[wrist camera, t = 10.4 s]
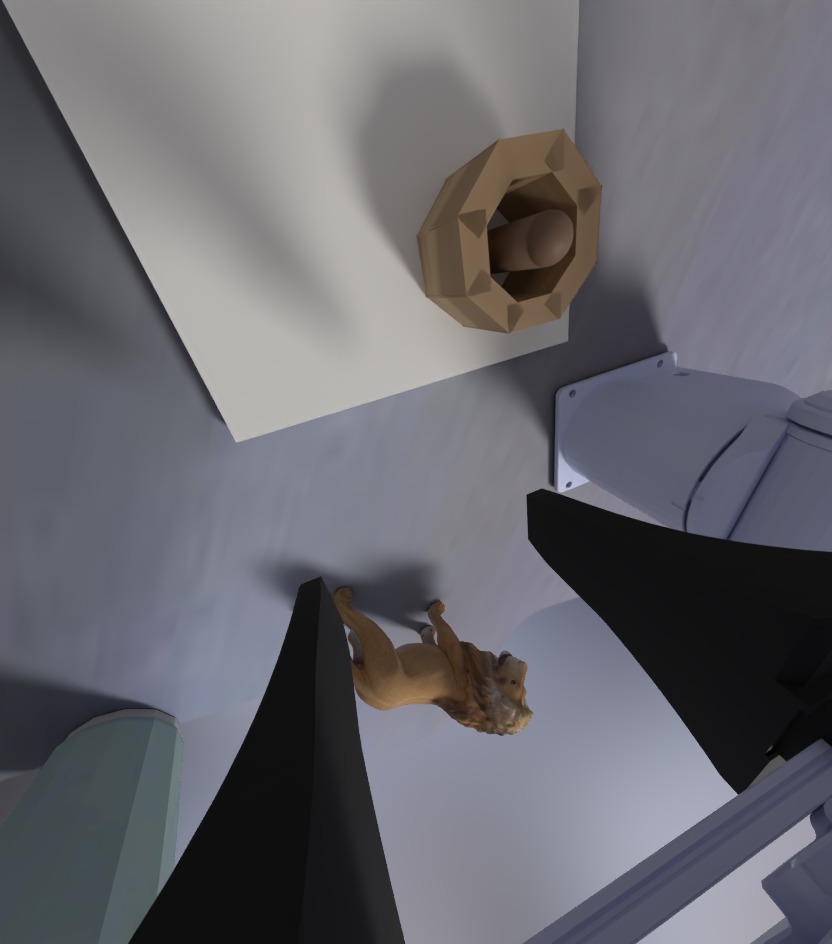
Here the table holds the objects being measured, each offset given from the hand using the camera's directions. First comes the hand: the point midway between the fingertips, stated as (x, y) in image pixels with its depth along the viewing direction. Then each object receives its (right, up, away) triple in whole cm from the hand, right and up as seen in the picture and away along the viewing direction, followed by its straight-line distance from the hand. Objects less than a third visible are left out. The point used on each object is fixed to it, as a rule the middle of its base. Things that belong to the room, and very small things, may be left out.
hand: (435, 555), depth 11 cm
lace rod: (+2, +13, +4) cm, 13 cm away
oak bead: (+2, +13, +4) cm, 13 cm away
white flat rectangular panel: (-2, +14, +3) cm, 15 cm away
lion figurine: (-1, -8, +15) cm, 17 cm away
